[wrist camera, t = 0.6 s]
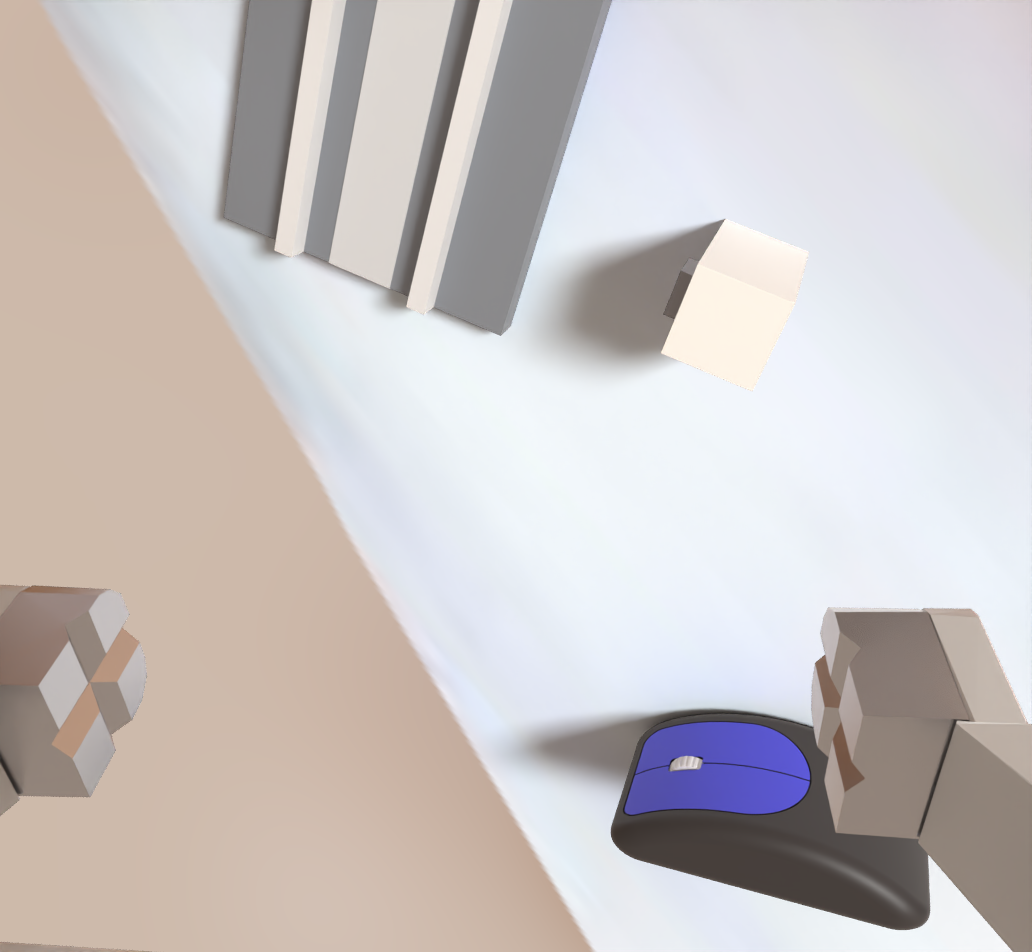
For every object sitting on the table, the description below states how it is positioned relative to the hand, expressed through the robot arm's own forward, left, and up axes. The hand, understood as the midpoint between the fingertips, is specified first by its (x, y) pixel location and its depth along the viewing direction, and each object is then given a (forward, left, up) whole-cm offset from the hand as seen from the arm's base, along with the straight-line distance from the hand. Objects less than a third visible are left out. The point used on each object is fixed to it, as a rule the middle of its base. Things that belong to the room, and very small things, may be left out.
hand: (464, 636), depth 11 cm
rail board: (+4, -17, -36) cm, 40 cm away
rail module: (+6, +1, -36) cm, 37 cm away
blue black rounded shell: (+32, +15, -36) cm, 51 cm away
